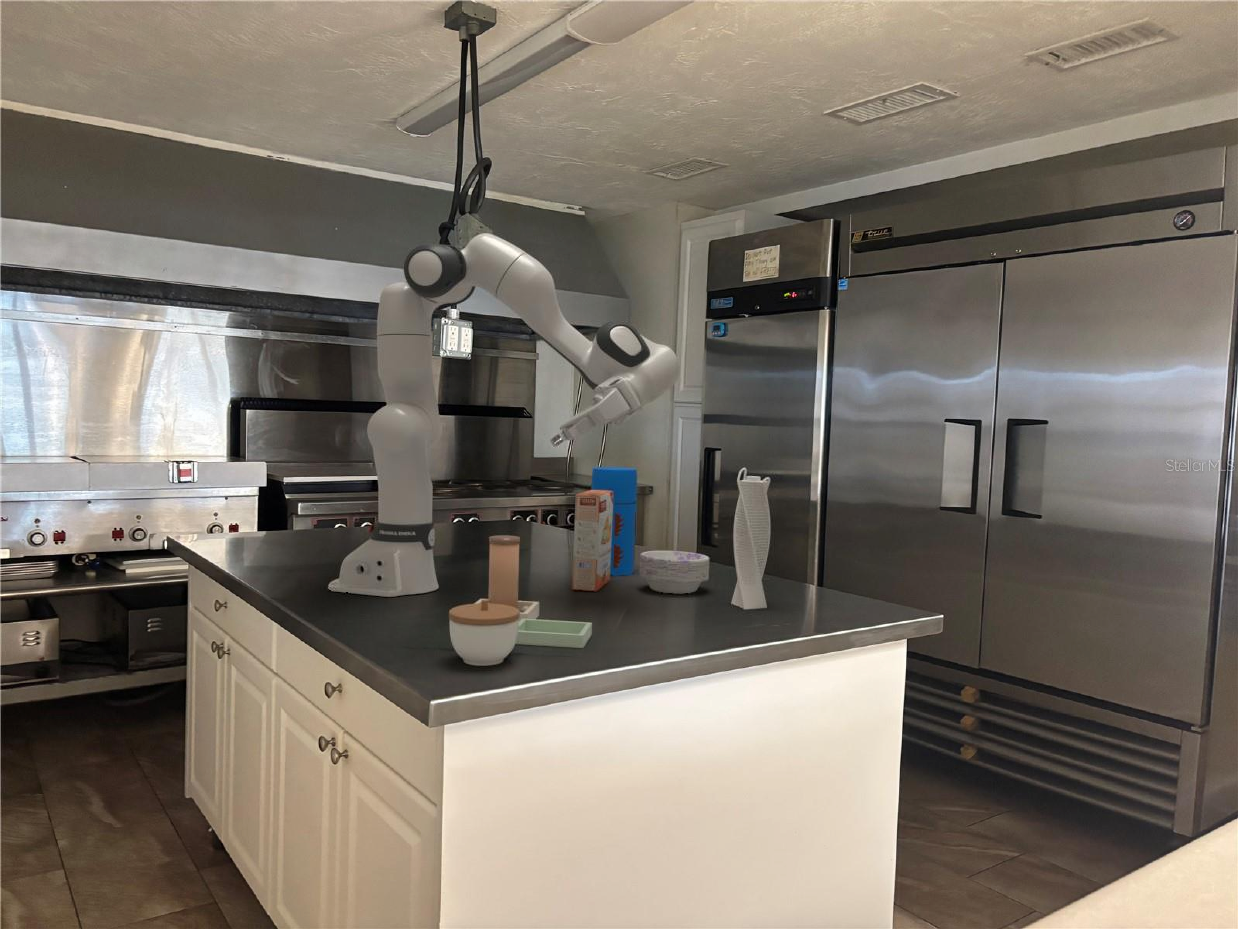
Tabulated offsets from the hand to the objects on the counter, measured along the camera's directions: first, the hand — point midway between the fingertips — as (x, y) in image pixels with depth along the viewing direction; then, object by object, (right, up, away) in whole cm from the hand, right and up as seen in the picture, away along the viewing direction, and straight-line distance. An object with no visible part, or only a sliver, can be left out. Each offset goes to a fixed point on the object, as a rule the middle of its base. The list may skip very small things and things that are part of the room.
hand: (561, 439), depth 172 cm
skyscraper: (+37, -34, +12) cm, 52 cm away
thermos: (+9, -31, +46) cm, 56 cm away
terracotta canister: (-10, -33, -11) cm, 36 cm away
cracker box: (+5, -32, +28) cm, 43 cm away
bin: (-15, -33, -10) cm, 38 cm away
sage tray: (0, -35, -23) cm, 42 cm away
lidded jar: (-10, -35, -33) cm, 49 cm away
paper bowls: (+23, -33, +26) cm, 48 cm away
